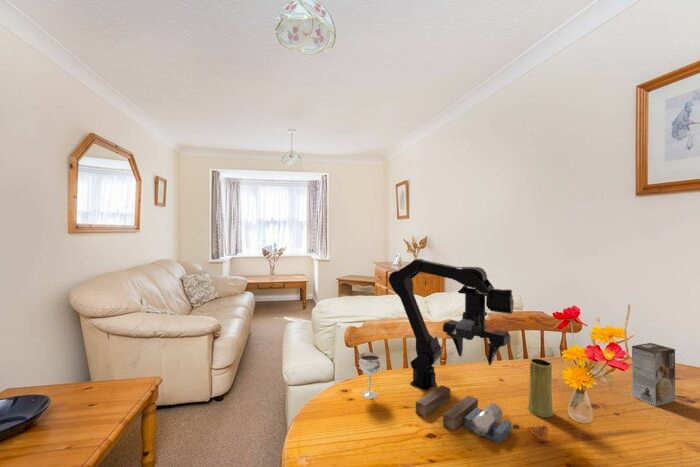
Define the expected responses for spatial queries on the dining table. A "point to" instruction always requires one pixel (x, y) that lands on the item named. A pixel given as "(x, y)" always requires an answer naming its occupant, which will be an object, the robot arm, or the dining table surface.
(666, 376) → the coffee box
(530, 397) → the vase
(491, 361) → the robot arm
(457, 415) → the pair of brown blocks
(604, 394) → the dining table surface
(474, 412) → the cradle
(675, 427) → the dining table surface
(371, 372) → the wineglass
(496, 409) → the axle
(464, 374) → the dining table surface
